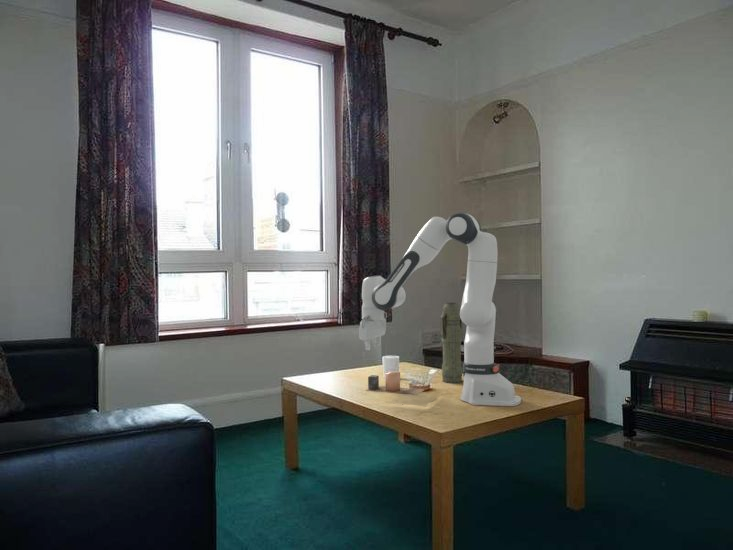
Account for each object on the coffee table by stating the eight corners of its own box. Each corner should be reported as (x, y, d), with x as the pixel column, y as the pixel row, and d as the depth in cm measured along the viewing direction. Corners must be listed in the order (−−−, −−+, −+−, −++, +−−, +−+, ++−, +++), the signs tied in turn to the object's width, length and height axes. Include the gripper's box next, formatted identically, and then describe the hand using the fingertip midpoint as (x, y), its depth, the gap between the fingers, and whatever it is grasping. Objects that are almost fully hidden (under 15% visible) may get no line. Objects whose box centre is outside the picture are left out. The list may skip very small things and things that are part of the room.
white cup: (388, 380, 254) (388, 358, 254) (379, 378, 261) (379, 356, 261) (402, 378, 258) (402, 357, 258) (393, 376, 265) (393, 355, 265)
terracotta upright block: (402, 388, 230) (402, 371, 230) (397, 391, 224) (397, 374, 224) (388, 387, 232) (388, 370, 232) (383, 390, 227) (383, 373, 227)
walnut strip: (424, 392, 228) (424, 377, 228) (417, 397, 219) (416, 381, 219) (374, 388, 237) (374, 373, 237) (365, 393, 228) (365, 378, 228)
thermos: (435, 381, 251) (434, 303, 250) (453, 378, 258) (452, 301, 258) (450, 384, 244) (449, 303, 244) (468, 380, 252) (467, 302, 251)
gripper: (369, 317, 221) (369, 352, 221) (388, 313, 239) (388, 345, 240) (355, 316, 223) (355, 351, 223) (374, 313, 242) (375, 345, 242)
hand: (372, 348), depth 232 cm, fingers open, 8 cm apart
